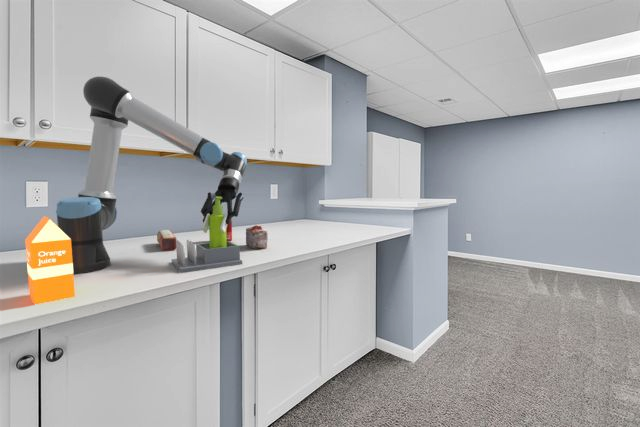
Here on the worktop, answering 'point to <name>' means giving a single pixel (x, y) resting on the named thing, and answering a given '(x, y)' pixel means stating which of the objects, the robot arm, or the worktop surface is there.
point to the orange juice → (49, 263)
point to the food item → (256, 237)
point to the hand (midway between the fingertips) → (213, 230)
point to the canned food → (229, 231)
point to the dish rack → (205, 256)
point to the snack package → (166, 240)
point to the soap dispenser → (217, 226)
